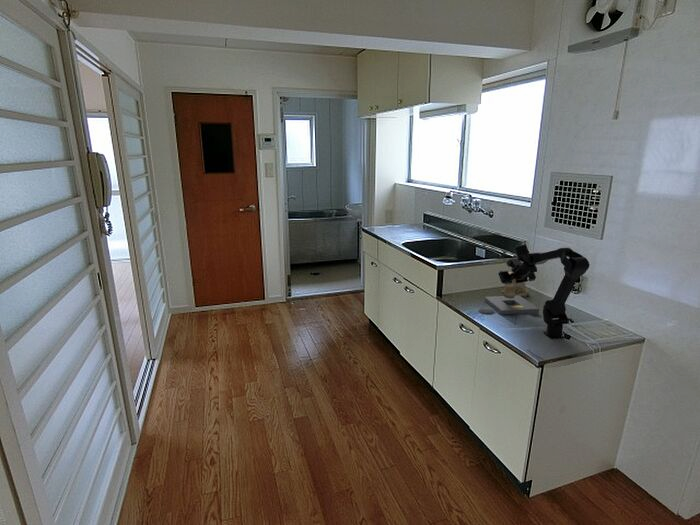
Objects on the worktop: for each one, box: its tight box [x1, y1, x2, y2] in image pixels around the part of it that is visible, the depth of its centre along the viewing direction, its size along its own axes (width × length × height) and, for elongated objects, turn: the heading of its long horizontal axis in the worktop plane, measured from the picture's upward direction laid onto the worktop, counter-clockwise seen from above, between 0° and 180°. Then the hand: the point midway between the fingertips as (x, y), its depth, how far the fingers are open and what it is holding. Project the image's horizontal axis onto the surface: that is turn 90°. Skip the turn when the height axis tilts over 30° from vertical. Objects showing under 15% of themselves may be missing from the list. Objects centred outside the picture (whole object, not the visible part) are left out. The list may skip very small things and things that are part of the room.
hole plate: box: [484, 295, 540, 315], centre depth 210 cm, size 20×20×3 cm
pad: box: [478, 308, 496, 316], centre depth 203 cm, size 8×8×1 cm
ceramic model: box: [501, 282, 530, 297], centre depth 231 cm, size 14×11×10 cm
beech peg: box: [503, 271, 516, 299], centre depth 206 cm, size 5×5×13 cm
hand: (509, 283), depth 208 cm, fingers closed on beech peg, 5 cm apart
